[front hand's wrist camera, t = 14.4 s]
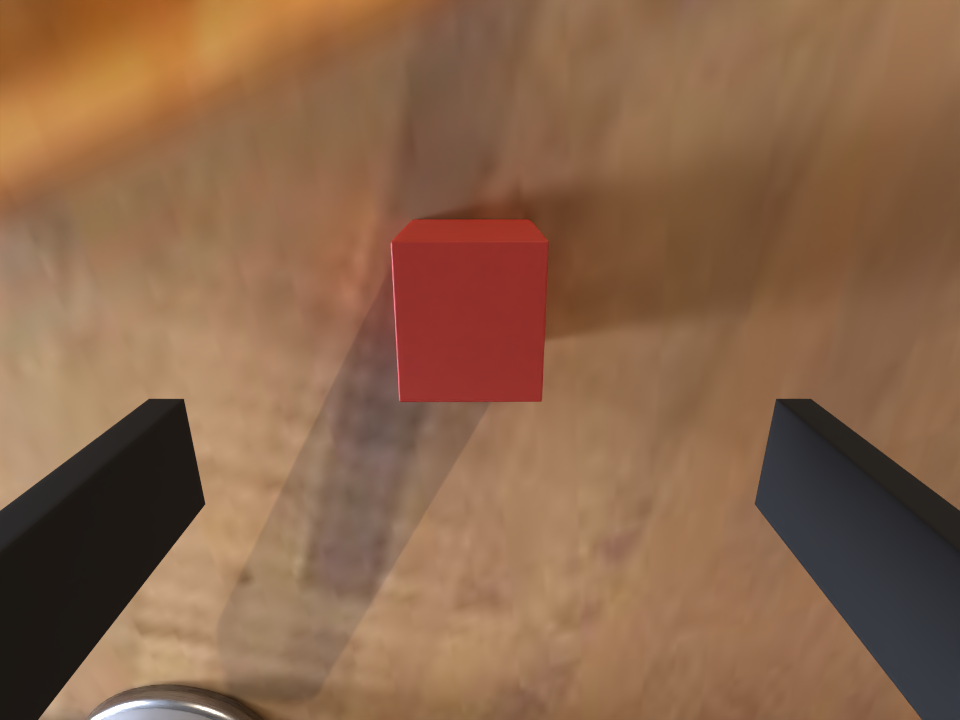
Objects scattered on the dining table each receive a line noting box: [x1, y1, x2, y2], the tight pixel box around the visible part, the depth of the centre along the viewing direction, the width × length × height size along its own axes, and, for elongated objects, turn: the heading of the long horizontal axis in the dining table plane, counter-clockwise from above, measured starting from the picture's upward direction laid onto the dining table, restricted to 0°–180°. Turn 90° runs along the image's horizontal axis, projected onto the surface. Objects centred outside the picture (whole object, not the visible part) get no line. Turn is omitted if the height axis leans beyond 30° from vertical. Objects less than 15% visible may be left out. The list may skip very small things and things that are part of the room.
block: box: [391, 219, 549, 402], centre depth 26 cm, size 6×7×8 cm
